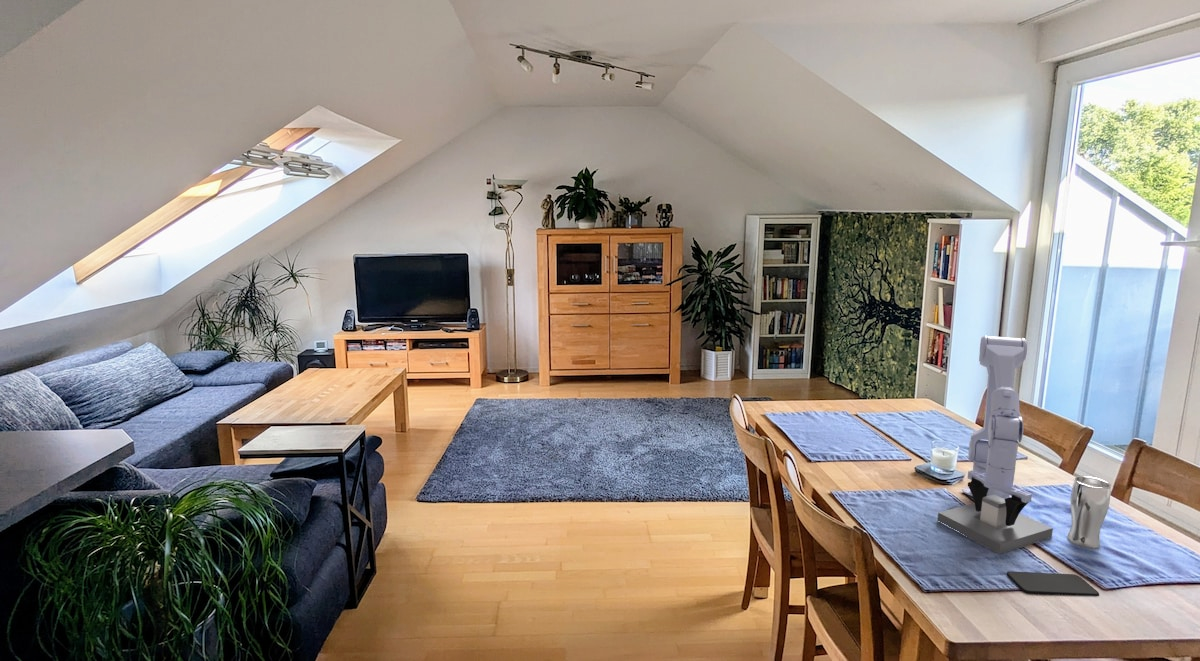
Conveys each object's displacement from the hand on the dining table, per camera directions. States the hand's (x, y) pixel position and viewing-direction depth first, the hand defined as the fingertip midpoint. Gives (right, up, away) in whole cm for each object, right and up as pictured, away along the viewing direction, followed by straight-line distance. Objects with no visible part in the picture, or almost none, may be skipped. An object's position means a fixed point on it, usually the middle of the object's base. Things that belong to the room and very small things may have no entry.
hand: (994, 517), depth 149 cm
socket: (0, -3, +1) cm, 3 cm away
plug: (0, -3, +1) cm, 3 cm away
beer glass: (+17, -4, -5) cm, 19 cm away
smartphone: (-2, -8, -21) cm, 23 cm away
